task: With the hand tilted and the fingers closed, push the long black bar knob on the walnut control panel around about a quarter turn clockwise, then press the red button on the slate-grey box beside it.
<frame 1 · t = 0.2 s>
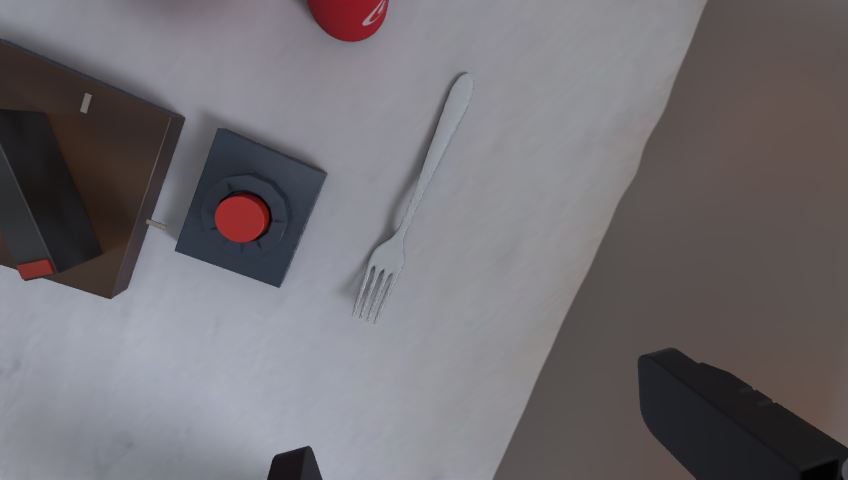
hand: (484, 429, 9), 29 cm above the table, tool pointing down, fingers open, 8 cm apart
fork: (413, 199, 38), on the table
red button: (242, 217, 32), point 4 cm above the table, slide at 0.1 cm
button box: (255, 209, 35), on the table
control panel: (71, 174, 33), on the table
bar knob: (33, 193, 28), point 5 cm above the table, hinge at 35.0°
beverage can: (348, 2, 33), on the table
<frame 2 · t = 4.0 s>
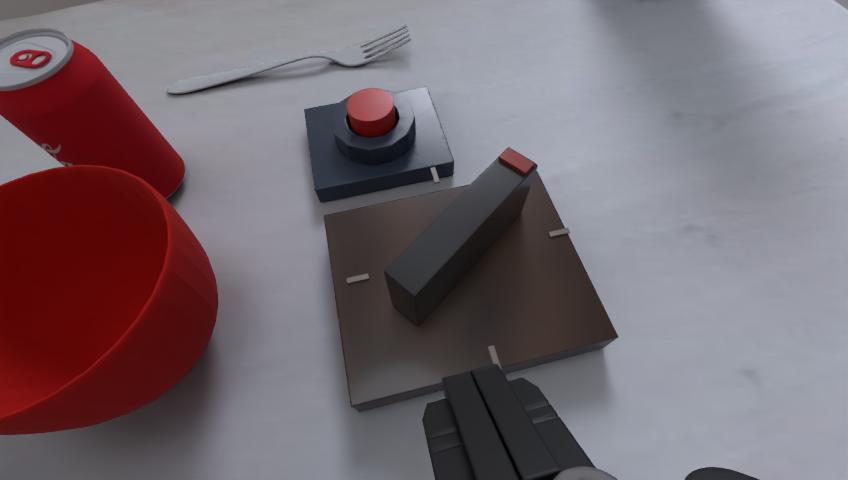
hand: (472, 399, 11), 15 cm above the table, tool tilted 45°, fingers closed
fork: (293, 70, 40), on the table
red button: (371, 112, 31), point 4 cm above the table, slide at 0.1 cm
button box: (377, 148, 35), on the table
control panel: (456, 285, 28), on the table
ceramic cup: (140, 323, 28), on the table
bar knob: (463, 235, 24), point 5 cm above the table, hinge at 35.0°
beverage can: (152, 185, 33), on the table
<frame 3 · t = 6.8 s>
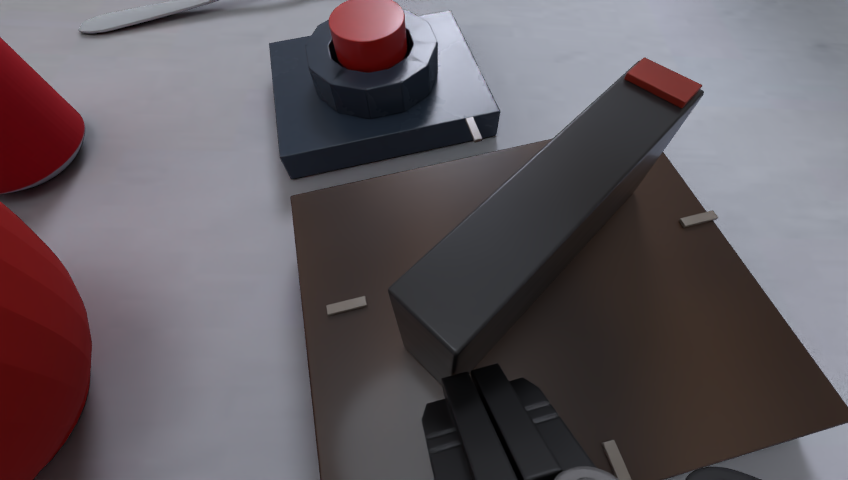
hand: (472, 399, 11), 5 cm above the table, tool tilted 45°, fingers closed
fork: (259, 1, 29), on the table
red button: (369, 34, 20), point 4 cm above the table, slide at 0.1 cm
button box: (379, 99, 23), on the table
control panel: (515, 312, 17), on the table
bar knob: (546, 224, 13), point 5 cm above the table, hinge at 30.8°, touching gripper
beverage can: (38, 158, 22), on the table
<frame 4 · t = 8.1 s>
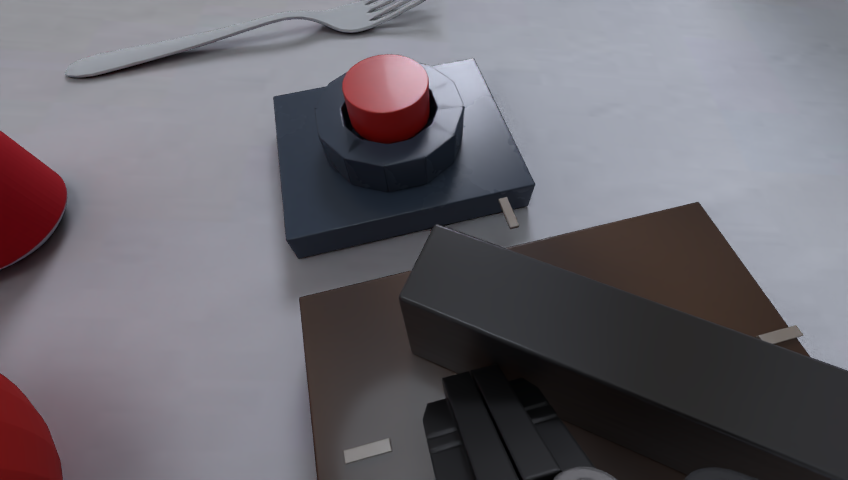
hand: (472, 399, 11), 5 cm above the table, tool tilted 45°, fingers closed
fork: (262, 40, 26), on the table
red button: (387, 98, 17), point 4 cm above the table, slide at 0.1 cm
button box: (396, 159, 21), on the table
control panel: (560, 434, 14), on the table
bar knob: (615, 374, 10), point 5 cm above the table, hinge at -37.9°, touching gripper
beverage can: (15, 228, 20), on the table
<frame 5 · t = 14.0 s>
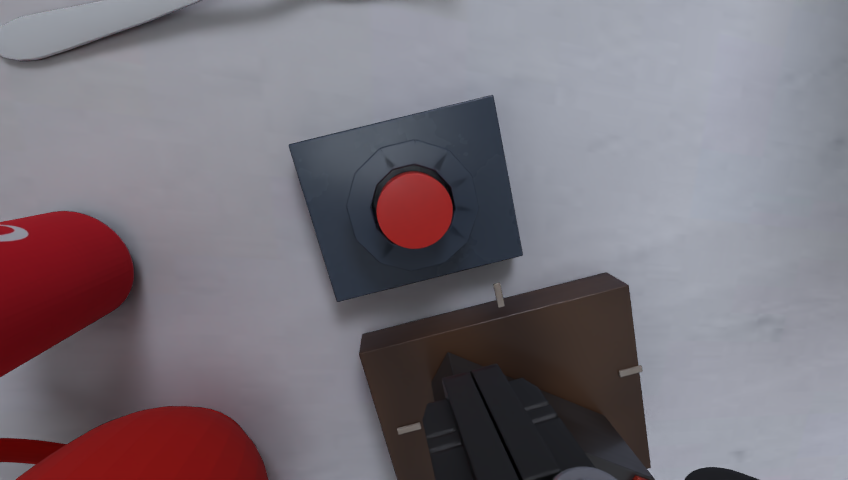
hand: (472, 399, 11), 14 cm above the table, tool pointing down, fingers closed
red button: (413, 209, 20), point 4 cm above the table, slide at 0.1 cm
button box: (410, 199, 24), on the table
control panel: (503, 390, 27), on the table
ceramic cup: (171, 436, 26), on the table
bar knob: (535, 428, 22), point 5 cm above the table, hinge at -39.0°
beverage can: (87, 262, 23), on the table
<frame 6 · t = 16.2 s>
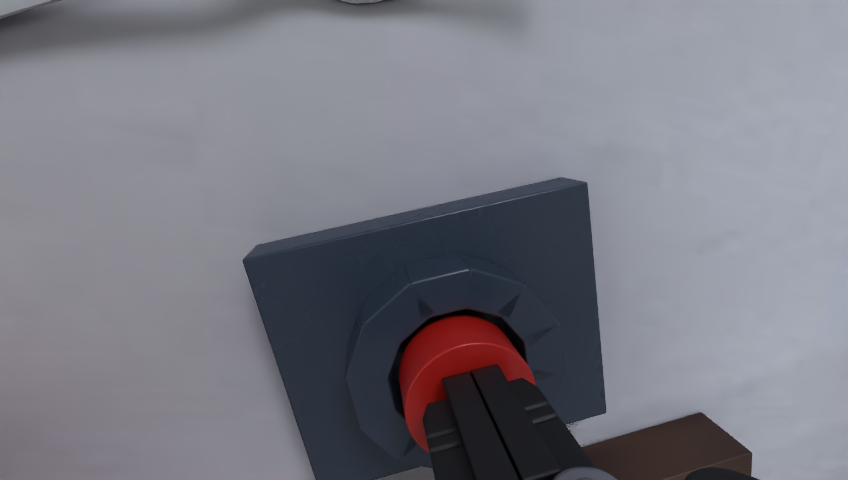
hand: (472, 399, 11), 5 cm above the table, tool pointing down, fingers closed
red button: (464, 385, 11), point 4 cm above the table, slide at 0.1 cm, touching gripper
button box: (438, 324, 15), on the table
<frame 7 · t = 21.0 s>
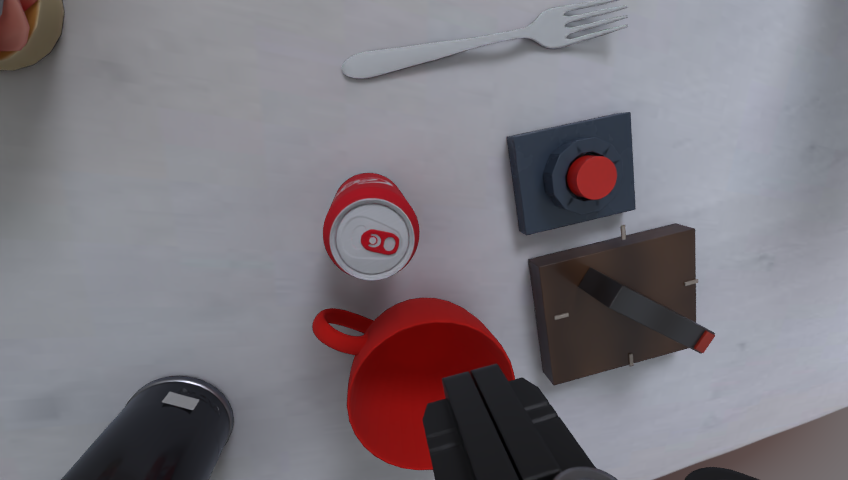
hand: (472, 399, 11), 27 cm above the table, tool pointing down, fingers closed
fork: (482, 43, 34), on the table
red button: (591, 177, 34), point 4 cm above the table, slide at 0.1 cm
button box: (568, 173, 38), on the table
control panel: (607, 299, 42), on the table
ceramic cup: (399, 326, 39), on the table
bar knob: (645, 309, 37), point 5 cm above the table, hinge at -39.0°
beverage can: (369, 207, 36), on the table
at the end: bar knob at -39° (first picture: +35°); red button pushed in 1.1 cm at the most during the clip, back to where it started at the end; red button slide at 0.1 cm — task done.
